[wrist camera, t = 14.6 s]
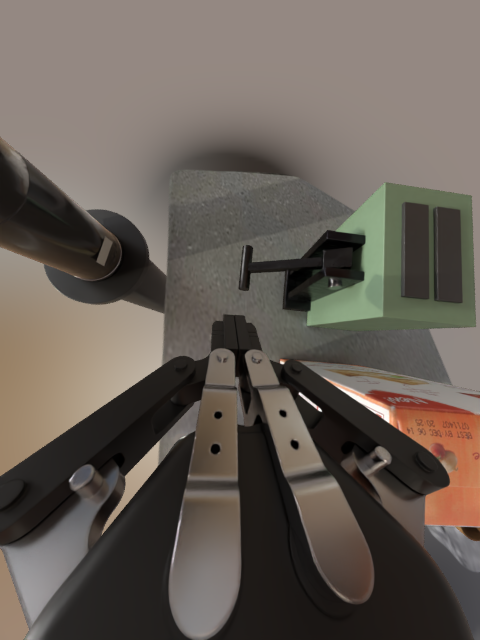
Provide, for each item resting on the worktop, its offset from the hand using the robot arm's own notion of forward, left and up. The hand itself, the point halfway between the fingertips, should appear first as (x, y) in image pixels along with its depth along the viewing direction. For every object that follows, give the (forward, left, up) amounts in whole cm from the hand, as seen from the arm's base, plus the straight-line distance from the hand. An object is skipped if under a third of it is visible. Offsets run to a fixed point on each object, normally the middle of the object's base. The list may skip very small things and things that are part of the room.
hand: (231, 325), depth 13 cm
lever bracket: (+11, +9, -17) cm, 22 cm away
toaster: (+18, +9, -17) cm, 26 cm away
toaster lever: (+7, +9, -9) cm, 14 cm away
